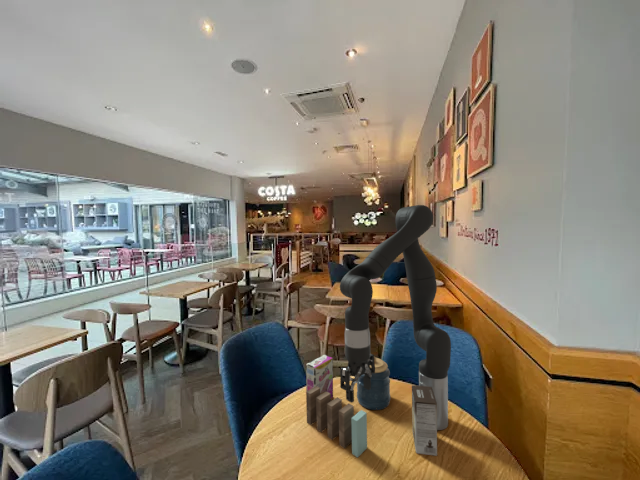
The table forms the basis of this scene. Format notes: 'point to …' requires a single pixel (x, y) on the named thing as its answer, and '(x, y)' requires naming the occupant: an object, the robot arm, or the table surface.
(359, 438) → the domino
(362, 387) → the canister
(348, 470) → the table surface
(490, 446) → the table surface
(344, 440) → the domino
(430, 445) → the coffee box
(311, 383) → the candy bar box
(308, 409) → the domino
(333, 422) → the domino
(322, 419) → the domino
